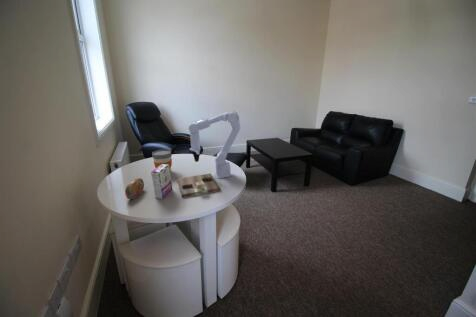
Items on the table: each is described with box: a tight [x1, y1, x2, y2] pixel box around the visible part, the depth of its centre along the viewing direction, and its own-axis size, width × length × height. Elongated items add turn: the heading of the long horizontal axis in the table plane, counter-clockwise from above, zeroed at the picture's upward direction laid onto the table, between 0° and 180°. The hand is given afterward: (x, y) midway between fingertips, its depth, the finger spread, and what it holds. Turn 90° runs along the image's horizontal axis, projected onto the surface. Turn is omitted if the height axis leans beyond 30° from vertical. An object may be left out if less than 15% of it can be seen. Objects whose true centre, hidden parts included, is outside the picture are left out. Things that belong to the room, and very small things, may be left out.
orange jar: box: [152, 149, 173, 174], centre depth 151 cm, size 13×13×15 cm
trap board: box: [176, 173, 221, 198], centre depth 134 cm, size 22×22×2 cm
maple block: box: [196, 181, 205, 191], centre depth 125 cm, size 4×4×4 cm
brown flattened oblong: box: [124, 178, 145, 200], centre depth 123 cm, size 15×3×8 cm, turn 174°
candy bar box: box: [150, 164, 173, 200], centre depth 122 cm, size 11×5×16 cm, turn 168°
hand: (196, 161), depth 145 cm, fingers closed
